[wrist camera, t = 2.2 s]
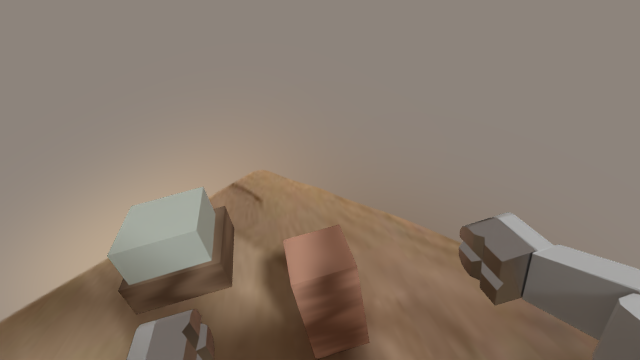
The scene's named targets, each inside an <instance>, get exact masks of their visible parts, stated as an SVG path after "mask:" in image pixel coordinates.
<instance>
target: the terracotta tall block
mask: <svg viewBox="0 0 640 360" xmlns="http://www.w3.org/2000/svg"><path fill="white" fill-rule="evenodd" d="M283 242H284V248H285V254H286V260H287V266H288V272H289V277H290V283H291V287H292V290H293V293H294V296H295V299H296V302H297V305H298V308H299V311H300V314H301V317H302V320H303V323H304V326H305V329H306V332H307V335H308V337H309V340H310V343H311V346H312V349H313V352H314V355H315V358H316V359H319V358H322V357H325V356H328V355H331V354H335V353H338V352H341V351H344V350H347V349H350V348H353V347H357V346H360V345H363V344H366V343H369V337H368V331H367V325H366V319H365V313H364V306H363V300H362V294H361V288H360V282H359V276H358V270H357V265H356V263H355V260H354V258H353V256H352V253H351V251H350V249H349V246H348V244H347V242H346V239H345V237H344V235H343V232H342V230H341V227H340V225H336V226H332V227H328V228H325V229H321V230H318V231H314V232H311V233H307V234H304V235H300V236H296V237H293V238H289V239H286V240H283Z"/></svg>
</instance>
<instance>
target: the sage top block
mask: <svg viewBox="0 0 640 360" xmlns="http://www.w3.org/2000/svg"><path fill="white" fill-rule="evenodd" d="M214 226H215V212H214V210H213V207H212V205H211V203H210V201H209V199H208V196H207V194H206V192H205V190H204V187H200V188H197V189H193V190H189V191H186V192H182V193H178V194H175V195H171V196H167V197H163V198H160V199H156V200H153V201H149V202H145V203H142V204H138V205H134V206H131V208H130V210H129V212H128V214H127V216H126V218H125V220H124V222H123V224H122V226H121V228H120V230H119V232H118V234H117V236H116V239H115V241H114V243H113V245H112V247H111V249H110V251H109V253H108V255H107V257H108V258H109V259H110V261H111V262H112V263H113V265H114V266H115V267H116V269H117V270H118V271H119V273H120V274H121V275H122V277H123V278H124V279H125V281H126V282H127V283H128V285H131V284H135V283H138V282H141V281H145V280H148V279H152V278H155V277H158V276H162V275H165V274H168V273H172V272H175V271H178V270H182V269H185V268H188V267H192V266H195V265H198V264H202V263H205V262H208V261H212V250H213V238H214Z"/></svg>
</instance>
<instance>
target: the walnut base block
mask: <svg viewBox="0 0 640 360" xmlns="http://www.w3.org/2000/svg"><path fill="white" fill-rule="evenodd" d="M213 210H214V212H215V226H214V238H213V250H212V261H208V262H205V263H202V264H198V265H195V266H192V267H188V268H185V269H182V270H178V271H175V272H172V273H168V274H165V275H162V276H158V277H155V278H152V279H148V280H145V281H141V282H138V283H135V284H131V285H128V283H127V282H126V281H125V279H124V278H123V281H122V283H121V286H120V288H119V290H118V291H119V293H120V294H121V295H122V296H123V298H124V299H125V300H126V302H127V303H128V304H129V305H130V307H131V308H132V309H133V310H134V312H135V313H136V314H139V313H142V312H146V311H149V310H153V309H156V308H160V307H163V306H167V305H170V304H174V303H177V302H180V301H184V300H187V299H191V298H194V297H198V296H201V295H205V294H208V293H212V292H215V291H218V290H222V289H225V288H229V287H232V274H233V246H234V227H233V224H232V222H231V219H230V217H229V215H228V212H227V210H226V208H225V206H223V207H219V208H216V209H213Z"/></svg>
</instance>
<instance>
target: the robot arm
mask: <svg viewBox="0 0 640 360" xmlns="http://www.w3.org/2000/svg"><path fill="white" fill-rule="evenodd" d="M460 238H461V239H462V240H463V242H462V244H461V245H460V246H459V257H460V260H461V263H462V265H463V267H464V269H465V270H466V272H467V273H468V274H469V275H470V276H471V277H473V278H475V279H478V280H480V289H481V290H482V291H483V292H484V293H485V295H486V296H487V297H488V298H489V299H490V300H491V302H492V303H493V304H494V305H498V304H502V303H505V302H508V301H512V300H515V299H518V298H522V299H523V300H525V301H527V302H529V303H531V304H532V305H534V306H536V307H538V308H540V309H542V310H543V311H545V312H547V313H549V314H551V315H553V316H555V317H556V318H558V319H560V320H562V321H564V322H566V323H568V324H569V325H571V326H573V327H575V328H577V329H579V330H581V331H582V332H584V333H586V334H588V335H590V336H592V337H594V338H595V339H597V340H599V342H598V344H597V346H596V348H595V350H594V352H593V360H640V269H637V268H633V267H630V266H627V265H624V264H621V263H617V262H614V261H611V260H608V259H605V258H601V257H598V256H595V255H591V254H588V253H585V252H582V251H578V250H575V249H572V248H569V247H565V246H562V245H556V246H554V245H553V244H551V243H550V242H549V241H547V240H546V239H545V238H544V237H542V236H541V235H540V234H538V233H537V232H536V231H535V230H533V229H532V228H531V227H529V226H528V225H527V224H525V223H524V222H523V221H522V220H521V219H519V218H518V217H516V216H515V215H514V214H512V213H509V212H507V213H504V214H501V215H497V216H495V217H492V218H487V219H484V220H481V221H478V222H475V223H472V224H469V225H466V226H462V228H461V229H460ZM201 317H202V316H201V315H200V313H199V312H198V310H197V309H193V310H189V311H186V312H182V313H179V314H175V315H171V316H168V317H164V318H161V319H158V320H155V321H151V322H148V323H144V324H140V326H139V327H138V328H137V329H136V331H135V335H134V338H133V341H132V344H131V347H130V350H129V353H128V356H127V359H126V360H213V359H214V341H213V336H212V333H211V331H210V329H209V327H208V326H207V325H205V324H202V323H201Z"/></svg>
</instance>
